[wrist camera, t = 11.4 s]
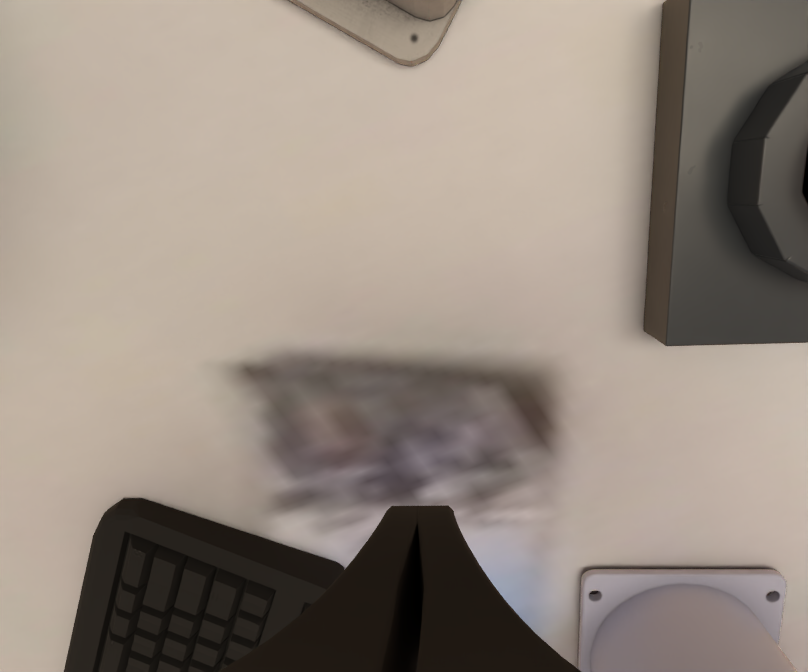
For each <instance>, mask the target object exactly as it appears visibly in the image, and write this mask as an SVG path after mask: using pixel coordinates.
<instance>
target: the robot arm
mask: <svg viewBox="0 0 808 672" xmlns="http://www.w3.org/2000/svg"><path fill="white" fill-rule="evenodd" d="M786 587H787V583H786V580H785V578H784V577H783V576H782V575H781V574H780V572H778V571H776V570H772V569H592V570H588V571H587V572H585V573H584V574H583V575H582V578H581V598H580V626H579V653H578V669H577V668H576V667H575V666H573V665H572V664H571V663H569V662H568V661H567V660H565V659H564V658H563V657H561V656H560V655H559V654H558V653H557V652H556V651H555V650H553V649H552V648H551V647H550V646H549V645H548V644H547V643H546V642H544V641H543V640H542V639H541V638H540V637H539V636H538V635H537V634H536V633H535V632H534V631H533V630H532V629H531V628H530V627H529V626H528V625H527V624H526V623H525V622H524V621H523V620H522V619H521V618H520V617H519V616H518V615H517V613H516V612H515V611H514V610H513V609H512V608H511V607H510V606H509V604H508V603H507V602H506V601H505V600H504V598H503V597H502V596H501V595H500V593H499V592H498V591H497V589H496V588H495V587H494V585H493V584H492V582H491V581H490V580H489V578H488V577H487V575H486V574H485V573H484V571H483V570H482V568H481V567H480V565H479V563H478V562H477V560H476V558H475V557H474V555H473V553H472V552H471V550H470V548H469V547H468V545H467V543H466V541H465V539H464V537H463V535H462V533H461V531H460V529H459V527H458V524H457V522H456V519H455V516H454V511H453V510H452V509H451V508H450V507H449V506H391V507H390V508H389V509H388V510H387V511H386V513H385V515H384V517H383V518H382V520H381V522H380V523H379V525H378V526H377V528H376V529H375V531H374V532H373V534H372V535H371V537H370V538H369V539H368V541H367V542H366V543H365V545H364V546H363V547H362V549H361V550H360V551H359V553H358V554H357V555H356V557H355V558H354V559H353V561H352V562H351V563H350V564H349V565H348V567H347V568H346V569H345V570H344V571H343V572H342V573H341V575H340V576H339V577H338V578H337V579H336V580H335V581H334V583H333V584H332V585H331V586H330V587H329V588H328V589H327V590H326V591H325V592H324V593H323V594H322V595H321V596H320V597H319V598H318V599H317V600H316V601H315V602H314V603H313V604H312V605H311V606H310V607H309V608H308V609H306V610H305V611H304V612H303V613H302V614H301V615H300V616H299V617H297V618H296V619H295V620H293V621H292V622H291V623H290V624H288V625H287V626H286V627H284V628H283V629H282V630H280V631H279V632H278V633H277V634H275V635H274V636H273V637H271V638H270V639H269V640H267V641H266V642H264V643H263V644H262V645H260V646H259V647H257V648H255V649H254V650H252V651H251V652H249V653H248V654H246V655H245V656H243V657H242V658H240V659H238V660H237V661H235V662H233V663H232V664H230V665H228V666H227V667H225V668H223V669H222V670H220V671H218V672H797V670H796V669H795V668H794V666H793V665H792V664H791V662H790V661H789V660H788V658H787V657H786V656H785V654H784V653H783V651H782V650H781V649H780V647H779V646H778V645H779V638H780V630H781V623H782V616H783V609H784V601H785V594H786ZM594 590H597V591H599V592H598V593H597V594H594V595H591V594H589V593H590V592H591V591H594ZM770 591H774V592H773V593H772V594H771V595H767V594H768V593H769V592H770Z"/></svg>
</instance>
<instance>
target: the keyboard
mask: <svg viewBox="0 0 808 672" xmlns="http://www.w3.org/2000/svg"><path fill="white" fill-rule="evenodd" d="M343 571H344V568H343V567H342V566H341V565H340V564H338V563H337V562H334V561H331V560H327V559H324V558H321V557H318V556H315V555H312V554H309V553H306V552H303V551H300V550H297V549H294V548H291V547H288V546H285V545H282V544H279V543H276V542H273V541H269V540H266V539H263V538H260V537H257V536H254V535H251V534H248V533H245V532H242V531H239V530H236V529H233V528H230V527H227V526H224V525H221V524H218V523H215V522H212V521H208V520H205V519H202V518H199V517H196V516H193V515H190V514H187V513H184V512H181V511H178V510H175V509H172V508H169V507H166V506H163V505H160V504H157V503H154V502H150V501H147V500H144V499H123V500H121V501H120V502H118V503H117V504H115V505H114V506H113V507H111V508H110V509H108V510H107V511H106V512H105V513H104V515H103V516H102V518H101V520H100V522H99V524H98V527H97V529H96V531H95V533H94V535H93V539H92V544H91V548H90V553H89V558H88V562H87V567H86V572H85V576H84V581H83V586H82V590H81V595H80V600H79V604H78V609H77V614H76V618H75V623H74V627H73V632H72V637H71V641H70V646H69V651H68V655H67V660H66V665H65V669H64V672H218V671H220V670H222V669H223V668H225V667H227V666H228V665H230V664H232V663H233V662H235V661H237V660H238V659H240V658H242V657H243V656H245V655H246V654H248V653H249V652H251V651H252V650H254V649H255V648H257V647H259V646H260V645H262V644H263V643H264V642H266V641H267V640H269V639H270V638H271V637H273V636H274V635H275V634H277V633H278V632H279V631H280V630H282V629H283V628H284V627H286V626H287V625H288V624H290V623H291V622H292V621H293V620H295V619H296V618H297V617H299V616H300V615H301V614H302V613H303V612H304V611H305V610H306V609H308V608H309V607H310V606H311V605H312V604H313V603H314V602H315V601H316V600H317V599H318V598H319V597H320V596H321V595H322V594H323V593H324V592H325V591H326V590H327V589H328V588H329V587H330V586H331V585H332V584H333V583H334V581H335V580H336V579H337V578H338V577H339V576H340V575H341V573H342V572H343Z"/></svg>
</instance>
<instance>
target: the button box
mask: <svg viewBox="0 0 808 672" xmlns="http://www.w3.org/2000/svg"><path fill="white" fill-rule="evenodd" d="M644 331H645V332H646V333H648V334H649V335H651V336H652V337H654V338H655V339H657V340H658V341H660V342H661V343H663V344H664V345H665V346H690V345H729V344H767V343H806V342H808V0H666V1H665V2H664V3H663V14H662V31H661V48H660V65H659V82H658V98H657V115H656V132H655V149H654V166H653V183H652V199H651V216H650V233H649V250H648V267H647V284H646V300H645V317H644Z"/></svg>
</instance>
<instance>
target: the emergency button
mask: <svg viewBox="0 0 808 672" xmlns="http://www.w3.org/2000/svg"><path fill="white" fill-rule="evenodd" d="M289 1H291V2H292V3H294V4H296V5H298V6H299V7H301V8H303V9H305V10H306V11H308V12H310V13H312V14H313V15H315V16H317V17H319V18H320V19H322V20H324V21H326V22H327V23H329V24H331V25H333V26H334V27H336V28H338V29H340V30H341V31H343V32H345V33H347V34H348V35H350V36H352V37H353V38H355V39H357V40H359V41H360V42H362V43H364V44H366V45H367V46H369V47H371V48H373V49H374V50H376V51H378V52H380V53H381V54H383V55H385V56H387V57H388V58H390V59H392V60H394V61H395V62H397V63H399V64H404V65H409V66H415V65H417V64H419V63H422V62H424V61H426V60H428V59H429V58H430V56H431V55H432V54H433V53H434V51H435V50H436V49H437V48H438V46H439V45H440V43H441V41H442V39H443V37H444V35H445V33H446V31H447V29H448V27H449V25H450V23H451V21H452V19H453V17H454V15H455V13H456V11H457V9H458V7H459V5H460V3H461V1H462V0H289Z"/></svg>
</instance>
